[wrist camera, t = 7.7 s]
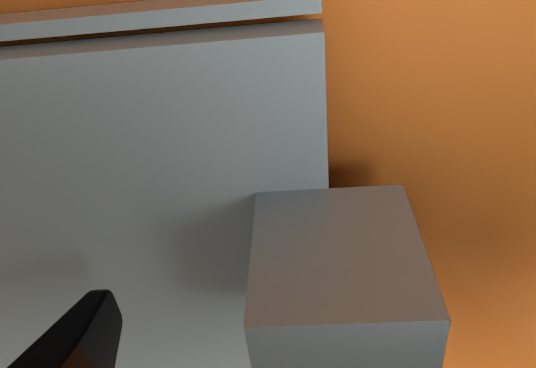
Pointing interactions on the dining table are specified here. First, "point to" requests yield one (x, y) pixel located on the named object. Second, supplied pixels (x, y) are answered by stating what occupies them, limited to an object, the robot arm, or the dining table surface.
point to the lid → (199, 195)
